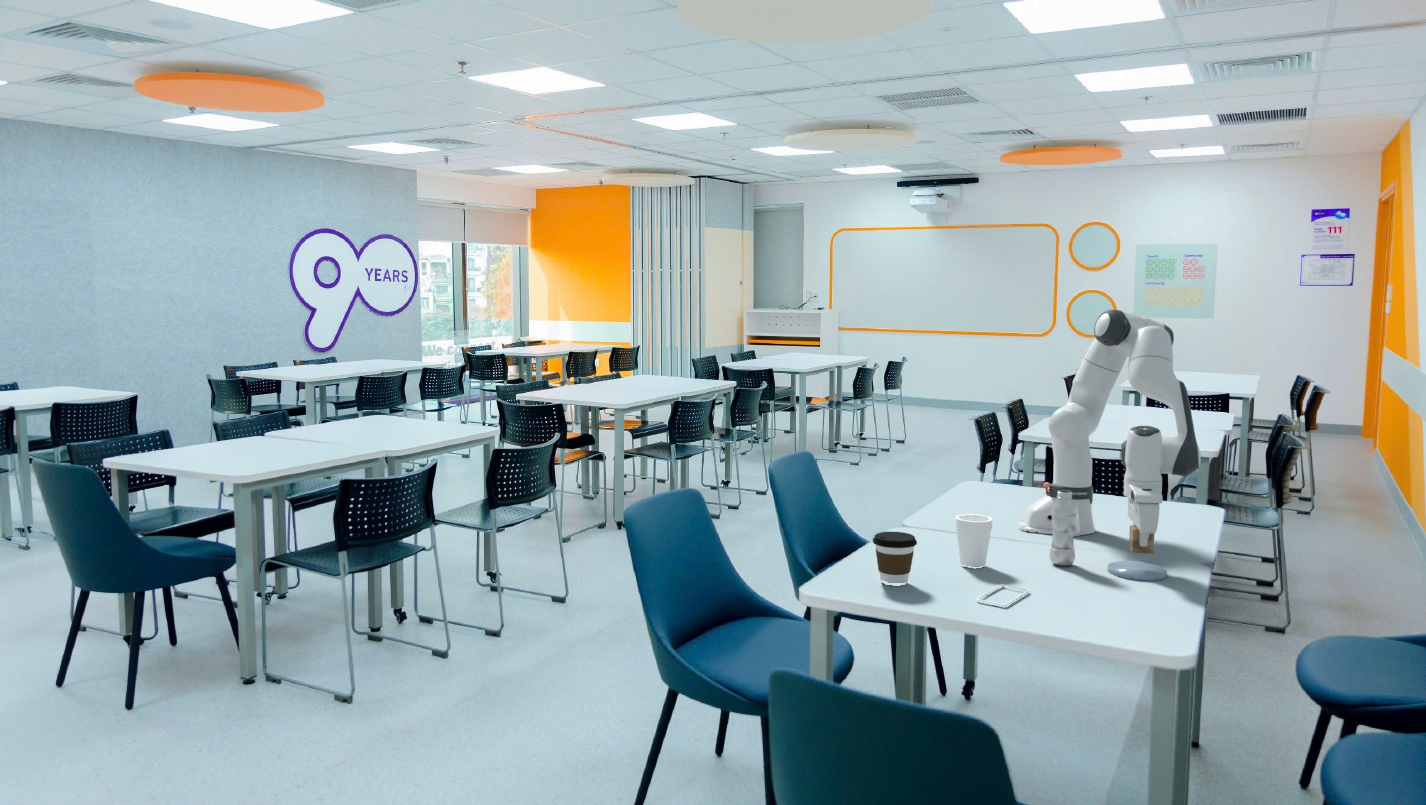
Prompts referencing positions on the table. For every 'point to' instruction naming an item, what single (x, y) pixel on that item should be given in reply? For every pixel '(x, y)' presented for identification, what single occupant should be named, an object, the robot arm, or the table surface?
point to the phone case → (1008, 602)
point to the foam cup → (973, 538)
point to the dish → (1137, 570)
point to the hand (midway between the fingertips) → (1140, 542)
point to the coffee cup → (894, 555)
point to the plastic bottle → (1063, 529)
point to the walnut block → (1134, 542)
